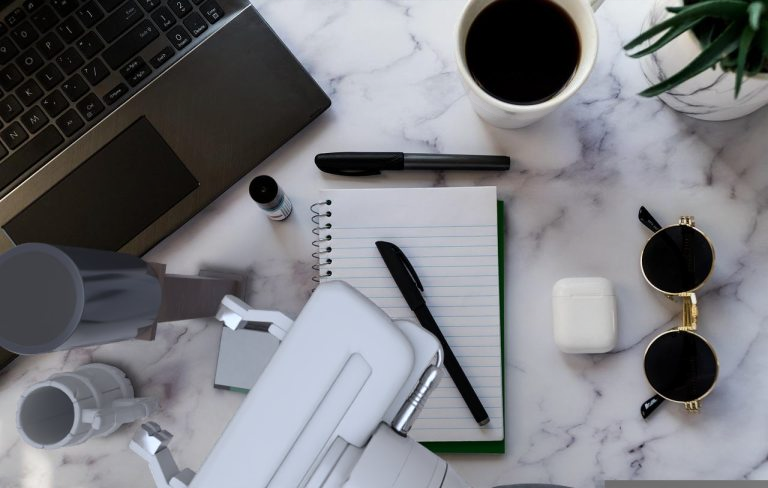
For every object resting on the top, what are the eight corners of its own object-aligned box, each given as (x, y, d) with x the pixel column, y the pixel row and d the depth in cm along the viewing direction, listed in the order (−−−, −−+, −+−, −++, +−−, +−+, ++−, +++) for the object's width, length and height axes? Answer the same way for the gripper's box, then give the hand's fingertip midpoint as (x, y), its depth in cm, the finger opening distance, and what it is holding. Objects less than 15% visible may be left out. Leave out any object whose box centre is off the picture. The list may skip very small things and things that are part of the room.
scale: (288, 395, 67) (280, 400, 63) (221, 384, 67) (210, 389, 64) (297, 331, 67) (289, 333, 64) (230, 322, 68) (220, 323, 65)
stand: (244, 325, 68) (150, 341, 46) (193, 317, 68) (76, 330, 46) (252, 272, 68) (162, 263, 46) (201, 265, 69) (89, 253, 47)
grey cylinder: (154, 347, 46) (74, 363, 36) (70, 334, 46) (-31, 346, 36) (168, 258, 46) (93, 250, 36) (84, 247, 47) (-12, 235, 37)
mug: (70, 360, 69) (-7, 374, 57) (176, 364, 68) (120, 379, 56) (66, 432, 69) (-13, 462, 57) (173, 437, 67) (115, 469, 56)
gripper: (461, 356, 35) (257, 222, 37) (258, 672, 35) (61, 523, 37) (458, 346, 41) (284, 232, 43) (286, 614, 41) (117, 489, 43)
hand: (180, 368), depth 40 cm, fingers open, 8 cm apart
